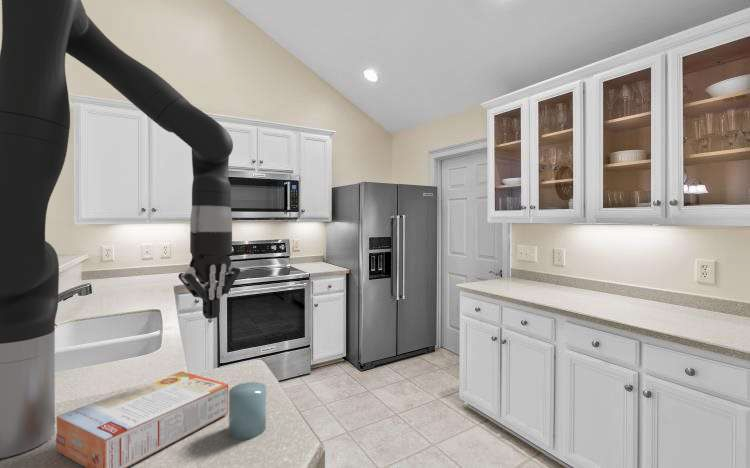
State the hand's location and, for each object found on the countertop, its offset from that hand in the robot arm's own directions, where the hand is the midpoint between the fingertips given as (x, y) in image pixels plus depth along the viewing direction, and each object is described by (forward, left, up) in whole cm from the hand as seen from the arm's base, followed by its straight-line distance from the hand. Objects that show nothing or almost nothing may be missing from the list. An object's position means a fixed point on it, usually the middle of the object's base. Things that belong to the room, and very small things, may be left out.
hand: (211, 317), depth 72 cm
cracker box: (-1, 0, -14) cm, 14 cm away
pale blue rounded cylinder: (-4, -14, -17) cm, 22 cm away
